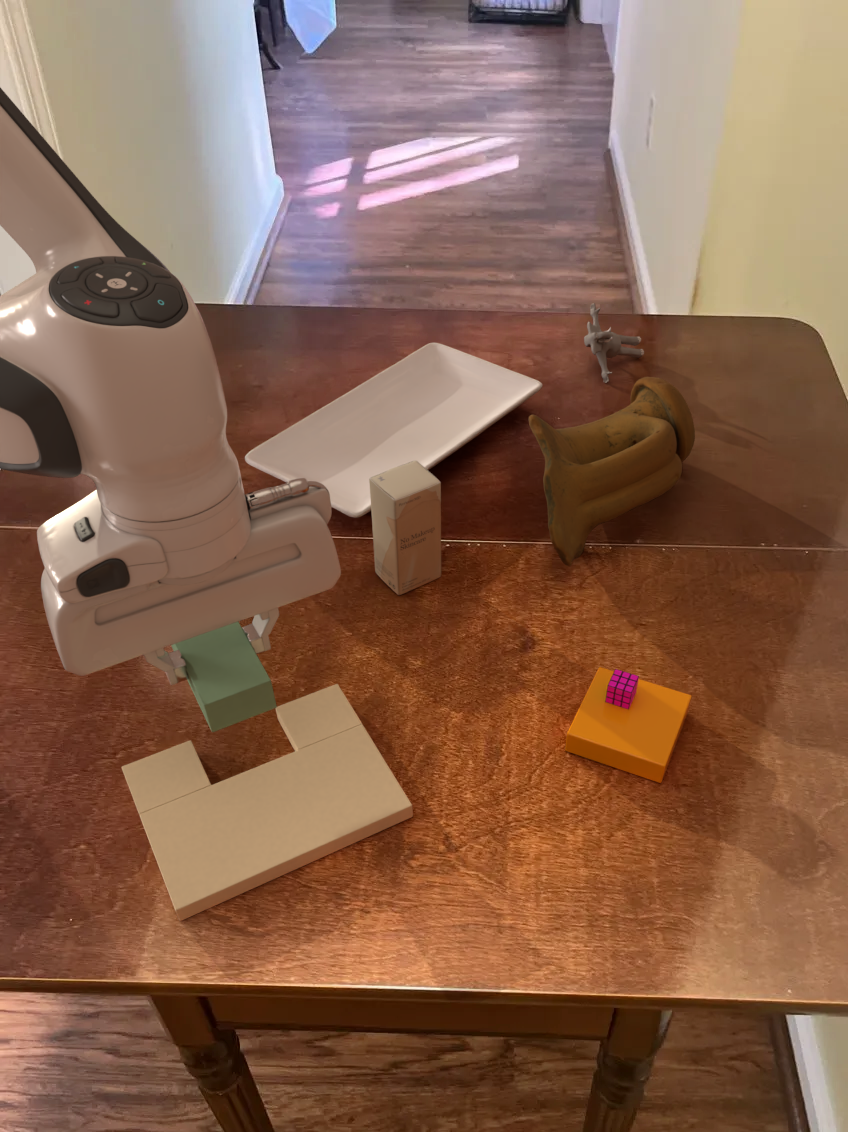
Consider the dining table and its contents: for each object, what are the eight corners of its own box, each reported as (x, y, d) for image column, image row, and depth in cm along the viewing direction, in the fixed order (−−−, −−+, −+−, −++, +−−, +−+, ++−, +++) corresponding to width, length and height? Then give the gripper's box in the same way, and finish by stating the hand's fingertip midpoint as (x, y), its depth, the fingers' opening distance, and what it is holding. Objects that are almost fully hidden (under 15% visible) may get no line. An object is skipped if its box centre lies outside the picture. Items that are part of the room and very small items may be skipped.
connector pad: (277, 707, 73) (271, 680, 71) (212, 733, 71) (204, 705, 69) (232, 625, 79) (225, 598, 77) (171, 647, 77) (163, 619, 75)
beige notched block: (179, 921, 68) (175, 910, 67) (125, 778, 76) (121, 766, 75) (413, 816, 74) (412, 805, 73) (339, 695, 83) (337, 683, 82)
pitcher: (449, 418, 99) (632, 336, 104) (484, 528, 106) (654, 447, 111) (531, 463, 84) (740, 366, 89) (566, 589, 91) (758, 492, 96)
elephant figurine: (662, 377, 120) (608, 371, 114) (628, 395, 125) (575, 390, 119) (647, 299, 121) (593, 290, 115) (614, 320, 125) (561, 312, 120)
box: (398, 597, 91) (391, 501, 83) (373, 572, 94) (365, 477, 86) (444, 575, 93) (442, 480, 86) (419, 551, 96) (415, 457, 88)
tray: (243, 481, 104) (237, 453, 101) (434, 363, 121) (433, 337, 119) (360, 544, 97) (357, 516, 94) (545, 409, 114) (547, 382, 112)
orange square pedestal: (687, 712, 82) (696, 678, 79) (661, 784, 76) (669, 749, 73) (596, 683, 84) (601, 649, 81) (564, 751, 79) (568, 716, 76)
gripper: (309, 448, 70) (329, 592, 80) (10, 536, 63) (73, 683, 72) (344, 495, 66) (361, 640, 76) (30, 594, 59) (94, 741, 69)
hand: (218, 662), depth 74 cm, fingers closed on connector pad, 5 cm apart
